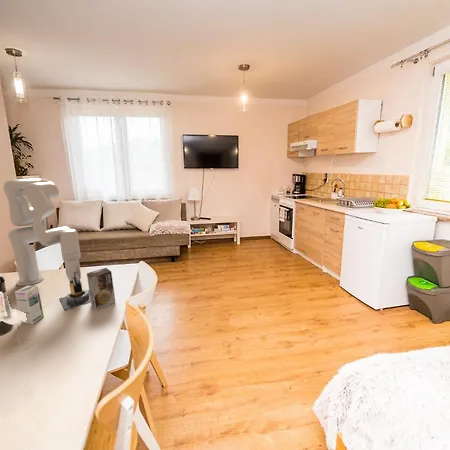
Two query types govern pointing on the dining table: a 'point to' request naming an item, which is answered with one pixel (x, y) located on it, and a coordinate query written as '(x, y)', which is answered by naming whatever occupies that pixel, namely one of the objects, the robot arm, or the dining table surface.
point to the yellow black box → (73, 291)
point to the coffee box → (101, 288)
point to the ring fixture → (75, 300)
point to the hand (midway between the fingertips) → (76, 288)
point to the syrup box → (29, 303)
